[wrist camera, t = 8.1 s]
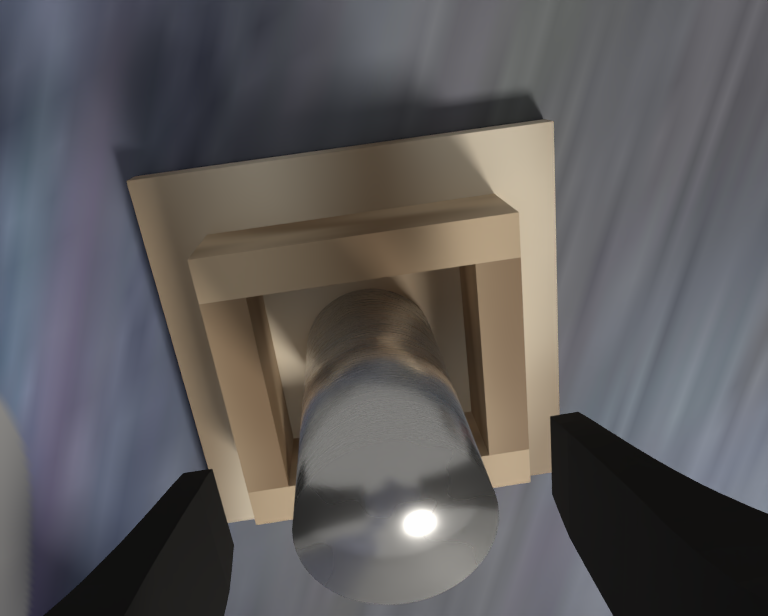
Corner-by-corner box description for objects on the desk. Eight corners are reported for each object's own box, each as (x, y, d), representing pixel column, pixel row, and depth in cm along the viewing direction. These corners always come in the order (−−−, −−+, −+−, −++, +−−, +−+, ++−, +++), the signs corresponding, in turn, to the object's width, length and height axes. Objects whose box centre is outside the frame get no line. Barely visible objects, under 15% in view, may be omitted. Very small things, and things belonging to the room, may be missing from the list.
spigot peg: (326, 415, 20) (324, 624, 12) (291, 306, 18) (265, 470, 11) (444, 386, 20) (512, 577, 12) (418, 274, 18) (480, 416, 11)
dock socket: (227, 508, 22) (210, 579, 19) (135, 176, 17) (92, 198, 14) (552, 457, 22) (588, 519, 19) (544, 119, 18) (588, 129, 15)
